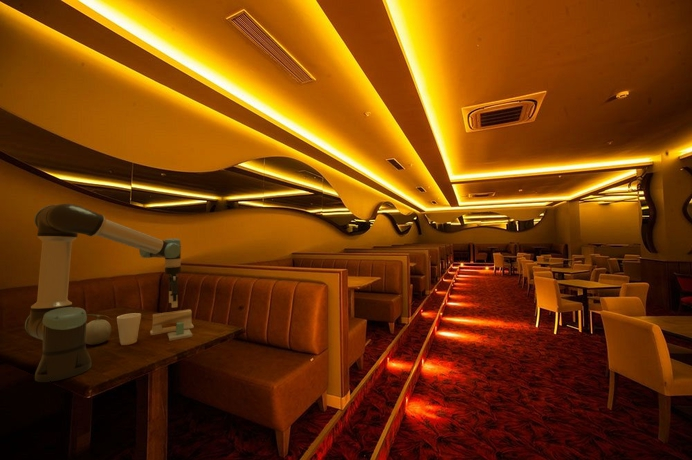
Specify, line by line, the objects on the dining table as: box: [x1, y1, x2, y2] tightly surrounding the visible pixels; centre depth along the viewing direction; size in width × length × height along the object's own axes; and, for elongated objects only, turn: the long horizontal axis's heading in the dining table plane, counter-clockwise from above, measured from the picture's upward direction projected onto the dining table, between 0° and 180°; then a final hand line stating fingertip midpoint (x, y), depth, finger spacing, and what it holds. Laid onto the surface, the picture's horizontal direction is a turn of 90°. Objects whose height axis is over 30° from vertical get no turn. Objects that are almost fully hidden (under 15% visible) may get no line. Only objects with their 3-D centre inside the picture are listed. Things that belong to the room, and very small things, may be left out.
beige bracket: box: [149, 320, 195, 336], centre depth 156 cm, size 6×20×4 cm, turn 127°
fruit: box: [86, 313, 112, 346], centre depth 137 cm, size 10×12×15 cm
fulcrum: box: [167, 321, 193, 342], centre depth 146 cm, size 10×10×7 cm
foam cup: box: [116, 312, 142, 346], centre depth 138 cm, size 10×9×13 cm
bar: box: [152, 308, 193, 327], centre depth 156 cm, size 5×18×5 cm, turn 127°
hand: (173, 304), depth 157 cm, fingers open, 13 cm apart
